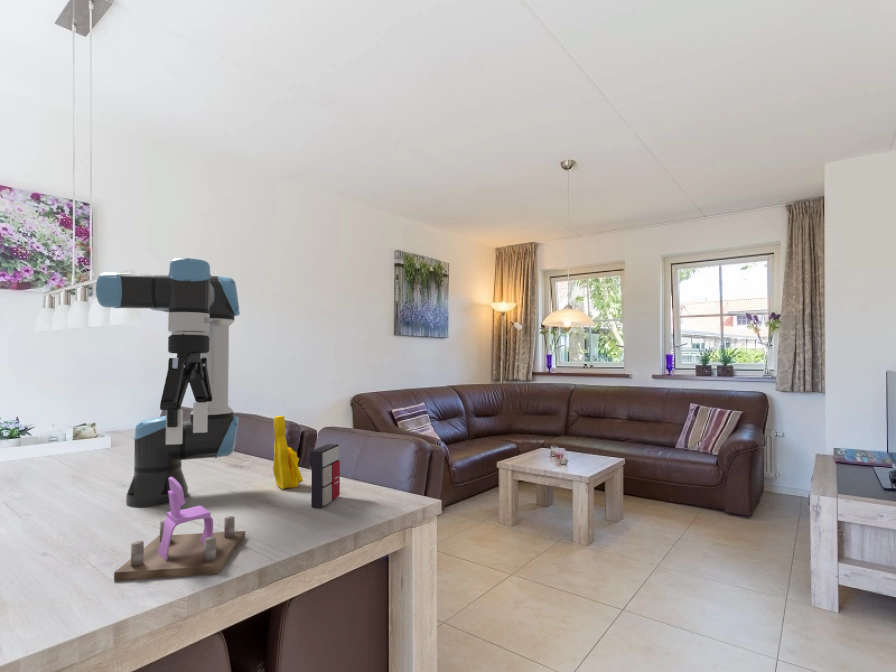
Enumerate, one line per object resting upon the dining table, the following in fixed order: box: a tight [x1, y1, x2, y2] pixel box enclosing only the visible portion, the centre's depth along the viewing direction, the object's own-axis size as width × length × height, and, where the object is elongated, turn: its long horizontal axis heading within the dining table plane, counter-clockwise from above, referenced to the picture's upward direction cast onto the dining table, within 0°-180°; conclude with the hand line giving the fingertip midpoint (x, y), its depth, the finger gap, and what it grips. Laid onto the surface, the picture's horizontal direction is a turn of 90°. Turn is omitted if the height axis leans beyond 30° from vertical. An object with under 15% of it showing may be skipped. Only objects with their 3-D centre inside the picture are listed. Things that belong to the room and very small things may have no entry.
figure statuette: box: [272, 415, 304, 490], centre depth 150 cm, size 18×8×22 cm, turn 37°
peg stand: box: [113, 515, 246, 581], centre depth 98 cm, size 18×18×6 cm
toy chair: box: [158, 477, 214, 561], centre depth 98 cm, size 8×9×15 cm
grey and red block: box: [309, 443, 341, 509], centre depth 134 cm, size 11×4×15 cm, turn 168°
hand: (188, 438), depth 99 cm, fingers open, 13 cm apart
